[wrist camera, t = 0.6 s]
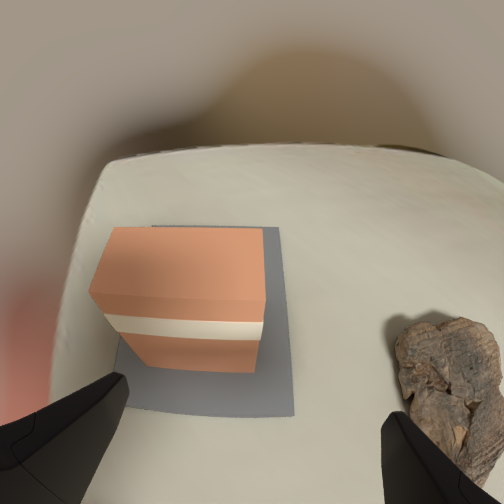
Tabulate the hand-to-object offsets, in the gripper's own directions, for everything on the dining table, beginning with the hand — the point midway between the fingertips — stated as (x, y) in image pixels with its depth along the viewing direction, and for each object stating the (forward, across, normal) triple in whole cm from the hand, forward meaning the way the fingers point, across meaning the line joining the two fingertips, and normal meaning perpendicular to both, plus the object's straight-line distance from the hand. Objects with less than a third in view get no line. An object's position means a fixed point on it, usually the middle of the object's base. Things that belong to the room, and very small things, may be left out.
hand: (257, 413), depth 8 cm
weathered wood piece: (+10, -21, +12) cm, 26 cm away
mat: (+18, +6, +7) cm, 20 cm away
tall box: (+14, +5, +9) cm, 17 cm away
